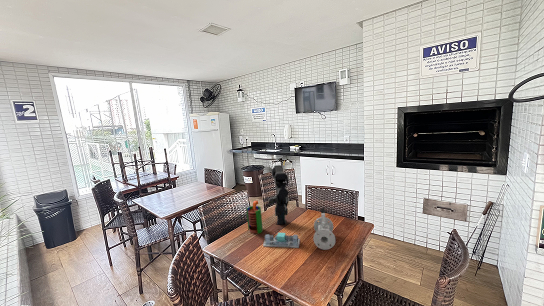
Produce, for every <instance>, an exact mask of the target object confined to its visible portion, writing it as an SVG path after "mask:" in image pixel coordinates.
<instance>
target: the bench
mask: <svg viewBox="0 0 544 306" xmlns="http://www.w3.org/2000/svg"><path fill="white" fill-rule="evenodd" d="M285 235H286V234H285ZM275 236H277V234H276V235H275ZM286 237H288V240H286V241H285V242H284V241H277V240H275V237H274V234H265V235H264V241H263V244H262V246H263V247H272V248H289V249H290V248H291V249H292V248H293V249H299V248H300V241H301V239H300V238H299V235H298V234H293V235H286Z"/></svg>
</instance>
